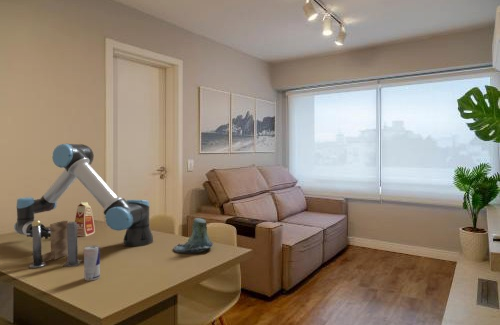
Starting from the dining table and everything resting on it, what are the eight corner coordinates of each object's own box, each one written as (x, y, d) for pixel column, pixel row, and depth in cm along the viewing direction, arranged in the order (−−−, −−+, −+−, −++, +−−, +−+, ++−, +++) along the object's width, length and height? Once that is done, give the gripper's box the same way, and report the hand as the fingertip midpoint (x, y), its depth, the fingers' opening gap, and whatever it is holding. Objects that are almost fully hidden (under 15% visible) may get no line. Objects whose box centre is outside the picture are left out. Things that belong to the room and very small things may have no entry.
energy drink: (102, 275, 130) (101, 245, 130) (96, 280, 125) (95, 249, 124) (88, 275, 130) (87, 245, 129) (81, 281, 124) (81, 249, 124)
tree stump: (190, 242, 179) (197, 211, 177) (218, 257, 168) (226, 224, 166) (165, 249, 163) (172, 214, 161) (194, 266, 153) (202, 229, 151)
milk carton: (86, 236, 193) (85, 202, 192) (72, 235, 195) (71, 201, 194) (96, 232, 202) (95, 199, 201) (82, 232, 204) (82, 199, 203)
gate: (43, 264, 143) (42, 227, 143) (39, 263, 144) (38, 227, 143) (68, 254, 157) (67, 220, 157) (64, 254, 157) (64, 220, 157)
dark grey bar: (62, 266, 141) (61, 224, 140) (68, 262, 147) (67, 221, 146) (78, 265, 142) (77, 223, 141) (82, 261, 148) (81, 221, 147)
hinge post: (49, 263, 145) (47, 218, 144) (39, 268, 139) (38, 221, 138) (35, 263, 145) (34, 218, 144) (25, 268, 139) (24, 221, 138)
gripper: (48, 234, 175) (70, 240, 161) (19, 239, 164) (41, 247, 151) (47, 220, 175) (70, 225, 161) (19, 224, 164) (41, 230, 151)
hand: (56, 235), depth 156 cm, fingers closed
